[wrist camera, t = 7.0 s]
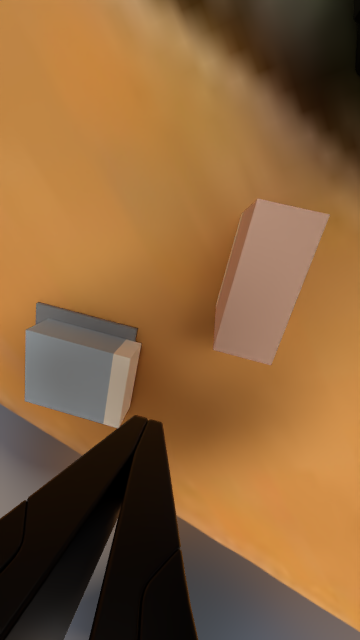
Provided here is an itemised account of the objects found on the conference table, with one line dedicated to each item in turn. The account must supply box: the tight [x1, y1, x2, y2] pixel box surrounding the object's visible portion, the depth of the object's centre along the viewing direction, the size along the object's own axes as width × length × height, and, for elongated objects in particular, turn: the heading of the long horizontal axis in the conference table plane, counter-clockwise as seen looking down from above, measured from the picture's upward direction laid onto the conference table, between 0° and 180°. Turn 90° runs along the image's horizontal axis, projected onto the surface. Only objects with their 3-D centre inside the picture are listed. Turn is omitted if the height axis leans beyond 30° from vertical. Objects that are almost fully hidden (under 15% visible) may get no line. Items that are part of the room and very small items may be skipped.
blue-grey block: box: [25, 319, 141, 428], centre depth 20 cm, size 2×6×8 cm
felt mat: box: [36, 302, 138, 342], centre depth 21 cm, size 8×8×1 cm
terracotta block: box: [213, 199, 330, 365], centre depth 13 cm, size 2×6×8 cm, turn 167°
